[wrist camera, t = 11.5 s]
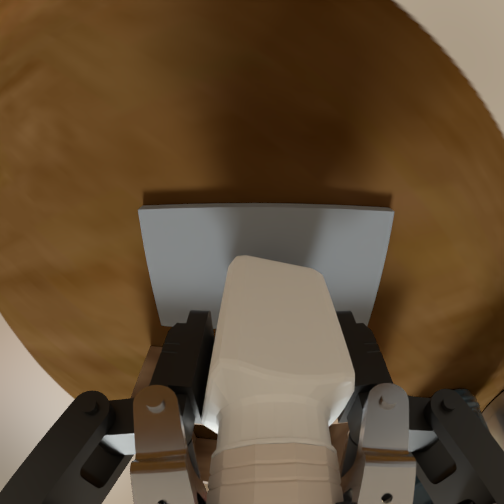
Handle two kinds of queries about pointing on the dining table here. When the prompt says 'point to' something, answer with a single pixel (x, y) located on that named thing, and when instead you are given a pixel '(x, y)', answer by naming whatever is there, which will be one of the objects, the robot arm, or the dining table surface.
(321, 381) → the pepper shaker
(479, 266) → the dining table surface
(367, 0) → the dining table surface
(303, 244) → the slate pad
